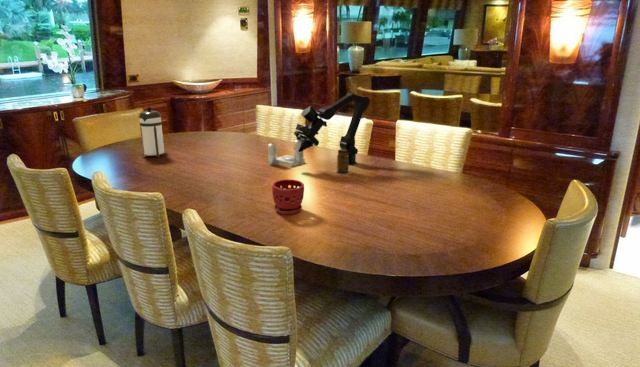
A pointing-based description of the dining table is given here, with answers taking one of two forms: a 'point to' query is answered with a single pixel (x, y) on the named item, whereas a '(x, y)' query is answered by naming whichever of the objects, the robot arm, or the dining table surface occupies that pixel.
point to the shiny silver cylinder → (298, 155)
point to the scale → (287, 161)
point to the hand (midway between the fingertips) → (296, 150)
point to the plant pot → (288, 196)
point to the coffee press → (151, 133)
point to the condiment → (342, 162)
